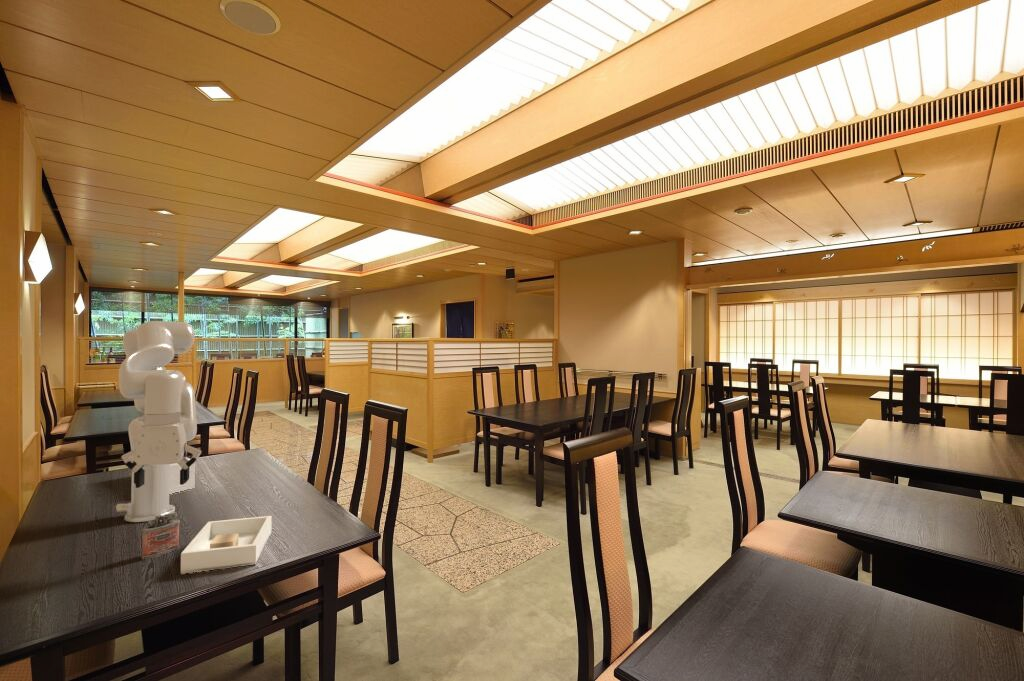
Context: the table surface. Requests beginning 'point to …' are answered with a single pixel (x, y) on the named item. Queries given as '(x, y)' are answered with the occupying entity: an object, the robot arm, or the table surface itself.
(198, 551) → the tote
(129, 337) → the robot arm
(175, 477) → the white long block
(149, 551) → the lighter
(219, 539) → the cube
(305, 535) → the table surface
